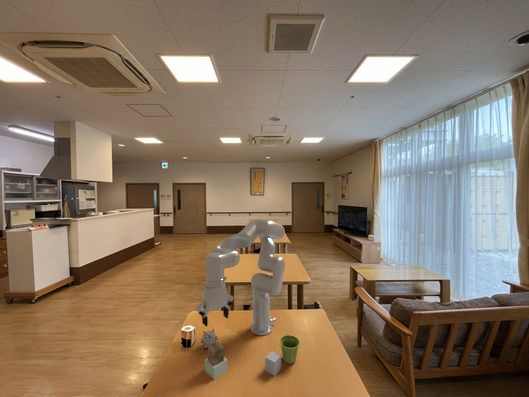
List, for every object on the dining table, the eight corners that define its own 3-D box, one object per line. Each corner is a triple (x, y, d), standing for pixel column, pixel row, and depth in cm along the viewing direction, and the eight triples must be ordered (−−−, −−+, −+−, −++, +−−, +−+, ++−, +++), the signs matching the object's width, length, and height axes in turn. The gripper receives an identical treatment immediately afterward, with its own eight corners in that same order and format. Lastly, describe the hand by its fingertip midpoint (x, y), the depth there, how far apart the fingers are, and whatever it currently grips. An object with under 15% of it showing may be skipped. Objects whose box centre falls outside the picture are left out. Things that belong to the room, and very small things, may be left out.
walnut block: (218, 354, 104) (218, 341, 104) (223, 360, 100) (223, 347, 100) (208, 359, 101) (207, 346, 101) (213, 366, 97) (212, 352, 97)
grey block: (271, 363, 105) (271, 350, 105) (281, 368, 102) (281, 355, 102) (265, 370, 101) (265, 357, 101) (274, 376, 98) (274, 362, 98)
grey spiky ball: (211, 356, 115) (212, 348, 109) (196, 348, 116) (196, 340, 110) (220, 338, 122) (221, 330, 116) (206, 331, 123) (207, 322, 117)
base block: (217, 362, 106) (217, 351, 106) (227, 370, 102) (227, 359, 101) (204, 371, 101) (204, 360, 101) (214, 380, 96) (214, 368, 96)
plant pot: (301, 354, 111) (301, 337, 110) (297, 369, 102) (297, 350, 102) (282, 350, 114) (282, 333, 114) (277, 364, 105) (277, 345, 105)
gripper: (228, 275, 108) (229, 310, 109) (192, 284, 98) (193, 324, 98) (237, 279, 102) (237, 317, 103) (199, 290, 92) (200, 332, 92)
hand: (215, 320), depth 101 cm, fingers open, 9 cm apart
